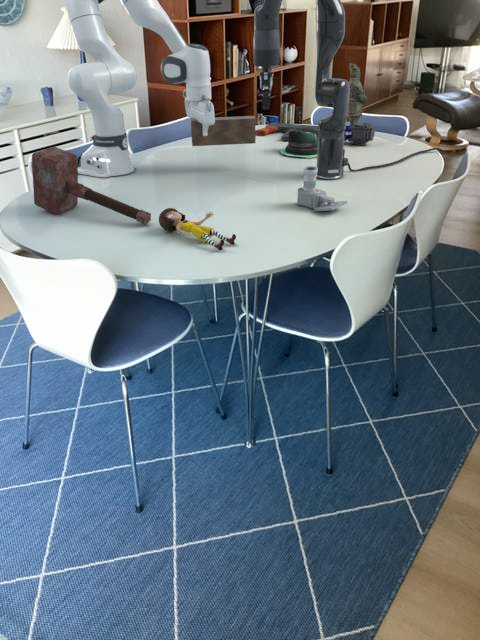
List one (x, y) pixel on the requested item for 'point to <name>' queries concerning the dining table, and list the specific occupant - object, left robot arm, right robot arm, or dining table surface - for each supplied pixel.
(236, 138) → the bar
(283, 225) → the dining table surface
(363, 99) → the statue
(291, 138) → the green brimmed hat
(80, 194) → the sledgehammer
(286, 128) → the submachine gun
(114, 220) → the dining table surface
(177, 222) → the figurine
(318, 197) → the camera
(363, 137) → the toy
